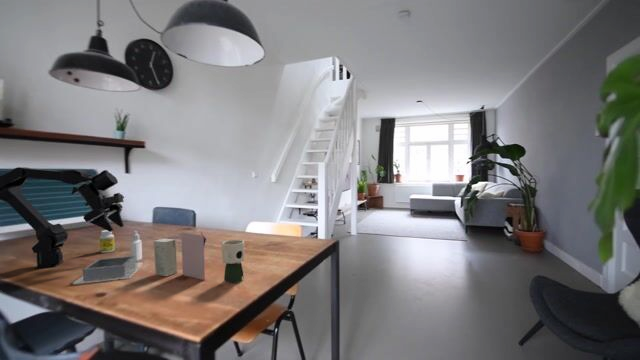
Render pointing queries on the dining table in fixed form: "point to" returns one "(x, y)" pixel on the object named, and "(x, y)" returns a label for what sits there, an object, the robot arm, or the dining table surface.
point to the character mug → (233, 259)
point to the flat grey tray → (109, 270)
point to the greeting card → (193, 255)
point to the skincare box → (165, 257)
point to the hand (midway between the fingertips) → (117, 228)
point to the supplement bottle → (106, 242)
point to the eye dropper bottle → (136, 247)
